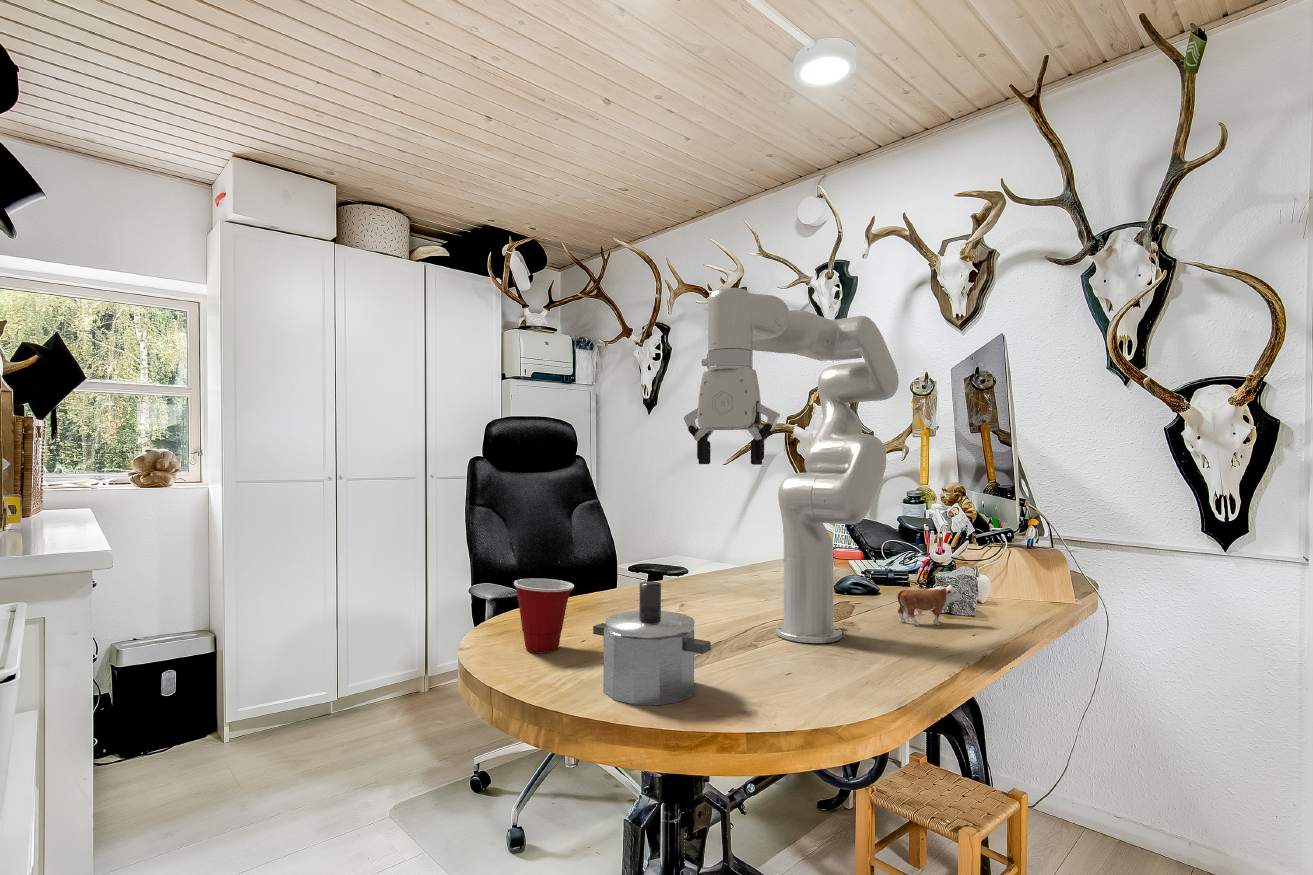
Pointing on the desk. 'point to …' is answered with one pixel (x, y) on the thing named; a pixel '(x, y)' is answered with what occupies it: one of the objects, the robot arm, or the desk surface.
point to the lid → (650, 618)
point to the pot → (649, 667)
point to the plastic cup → (542, 612)
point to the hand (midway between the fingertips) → (729, 464)
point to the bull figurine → (925, 602)
